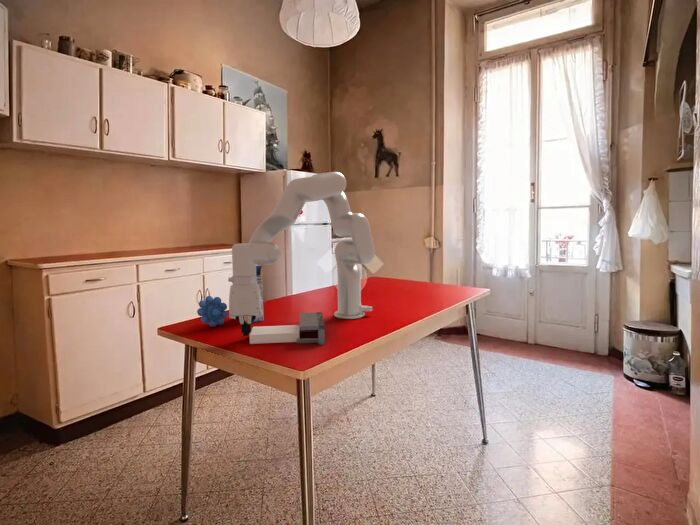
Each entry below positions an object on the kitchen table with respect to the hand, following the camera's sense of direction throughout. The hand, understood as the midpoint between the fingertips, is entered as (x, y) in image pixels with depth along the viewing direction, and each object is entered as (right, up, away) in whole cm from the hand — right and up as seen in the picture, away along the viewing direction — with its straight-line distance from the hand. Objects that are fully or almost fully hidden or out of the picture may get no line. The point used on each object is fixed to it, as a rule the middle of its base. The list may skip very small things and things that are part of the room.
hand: (246, 334), depth 132 cm
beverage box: (-5, +1, +27) cm, 27 cm away
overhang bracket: (+22, -1, +3) cm, 22 cm away
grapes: (-16, 0, +16) cm, 22 cm away
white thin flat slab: (+10, -1, +1) cm, 10 cm away
